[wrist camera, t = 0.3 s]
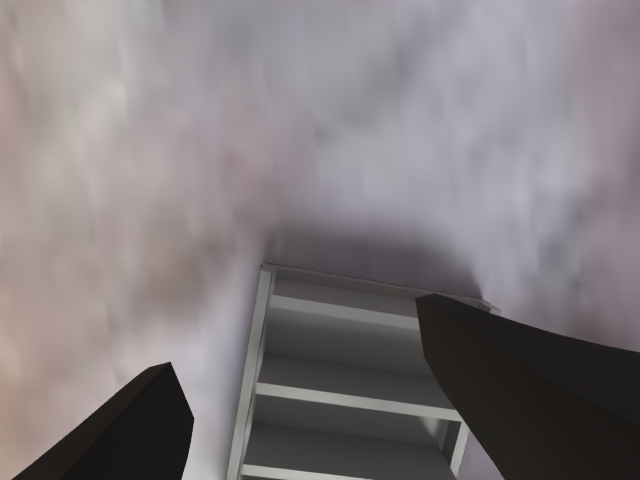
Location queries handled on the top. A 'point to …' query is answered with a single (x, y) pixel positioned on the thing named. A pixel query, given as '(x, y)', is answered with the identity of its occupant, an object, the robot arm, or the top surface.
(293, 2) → the top surface
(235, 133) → the top surface
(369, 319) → the dish rack
